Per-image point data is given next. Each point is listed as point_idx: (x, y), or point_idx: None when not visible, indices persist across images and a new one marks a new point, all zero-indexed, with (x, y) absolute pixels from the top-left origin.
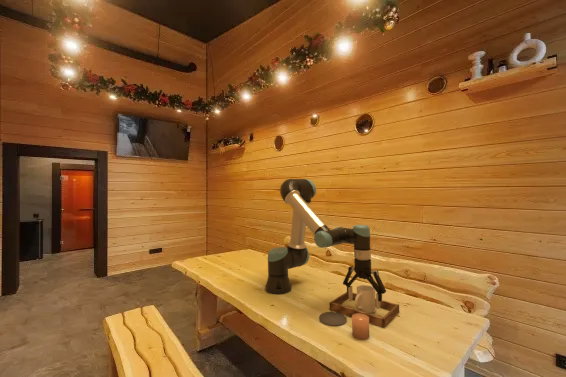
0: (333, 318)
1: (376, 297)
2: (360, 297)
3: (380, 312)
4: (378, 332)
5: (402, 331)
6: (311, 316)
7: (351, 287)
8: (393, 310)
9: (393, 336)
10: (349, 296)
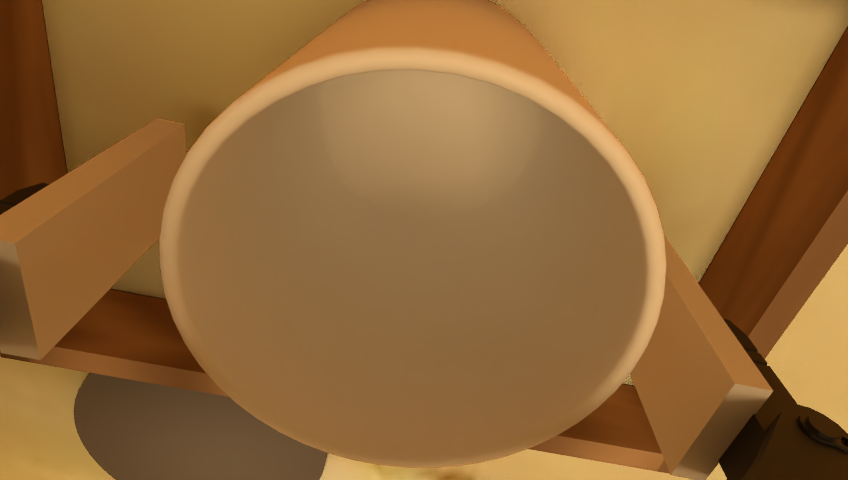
0: (211, 447)
1: (656, 418)
2: (355, 343)
3: (620, 104)
4: (600, 468)
5: (807, 399)
6: (35, 450)
7: (39, 272)
8: (841, 249)
9: (713, 476)
10: (140, 247)
